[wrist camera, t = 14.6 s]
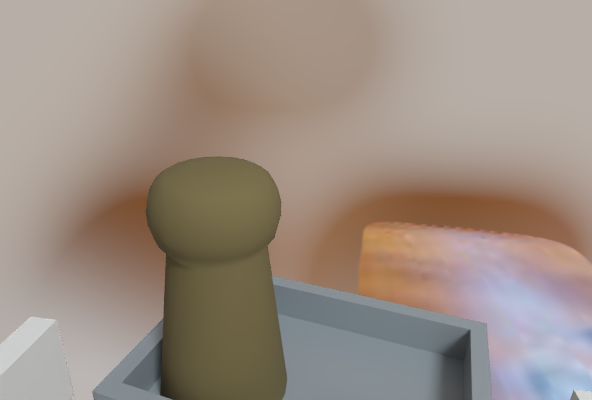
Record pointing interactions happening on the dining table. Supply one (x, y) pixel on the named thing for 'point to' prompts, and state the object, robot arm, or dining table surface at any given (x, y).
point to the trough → (345, 351)
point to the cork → (218, 280)
